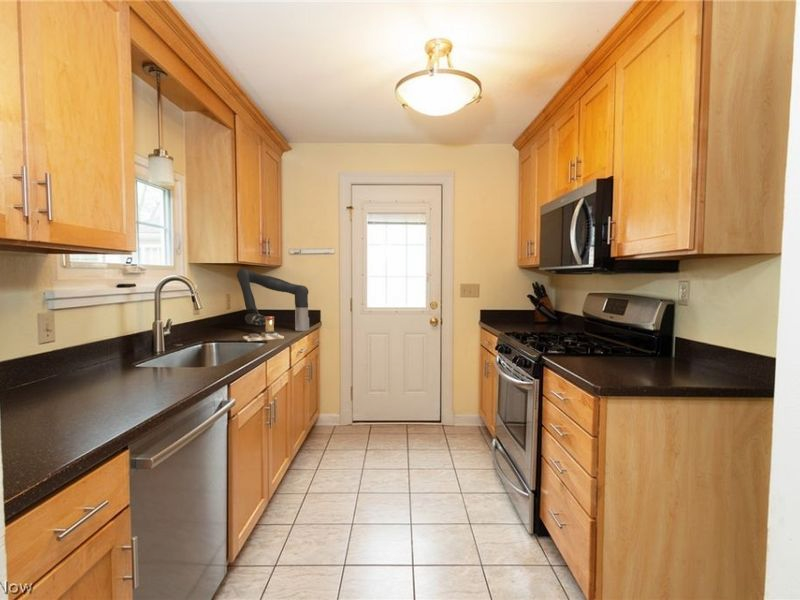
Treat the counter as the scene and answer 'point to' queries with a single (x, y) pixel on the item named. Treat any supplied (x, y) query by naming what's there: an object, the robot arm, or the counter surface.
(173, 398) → the counter surface
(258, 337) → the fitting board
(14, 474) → the counter surface
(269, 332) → the yellow jar
